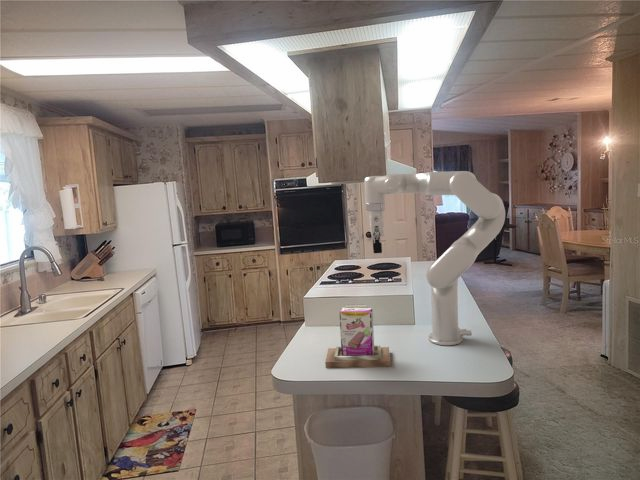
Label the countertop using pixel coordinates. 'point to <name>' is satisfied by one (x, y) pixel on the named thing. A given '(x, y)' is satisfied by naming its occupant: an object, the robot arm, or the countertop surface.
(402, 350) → the countertop surface
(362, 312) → the candy bar box
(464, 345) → the countertop surface
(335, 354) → the walnut plinth
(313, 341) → the countertop surface
